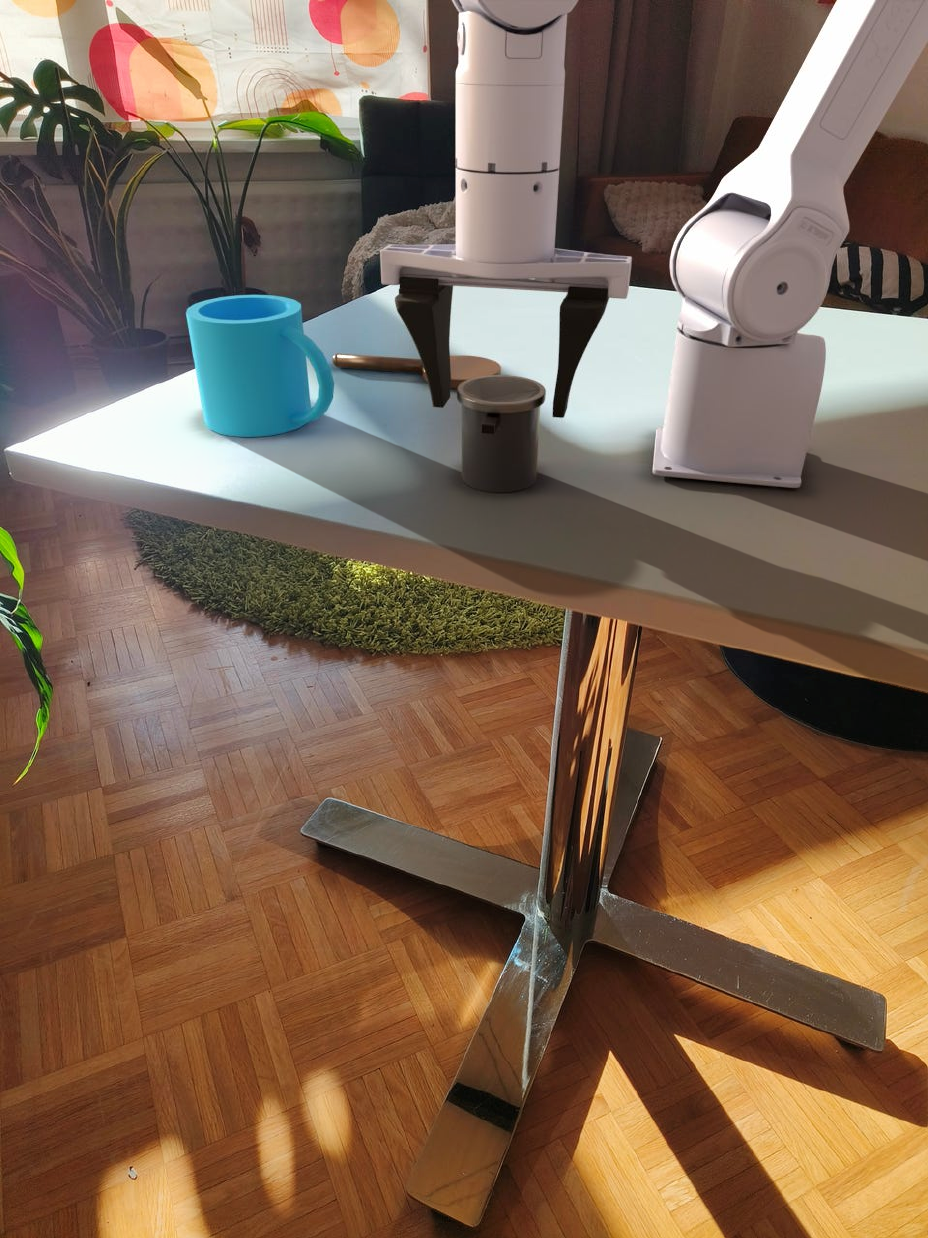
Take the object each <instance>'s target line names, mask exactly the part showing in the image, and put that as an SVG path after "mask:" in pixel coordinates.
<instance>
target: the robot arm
mask: <svg viewBox="0 0 928 1238" xmlns="http://www.w3.org/2000/svg"><path fill="white" fill-rule="evenodd" d="M451 2H452V3H453V5H454V7H455V9H456V10H457V12H458V29H457V37H456V38H457V39H456V40H457V47H458V64H457V67H456V70H455V243H453V244H452V243H450V244H449V243H448V244H446V243H445V244H388V245H387V246H385V247H383V248H382V249H380V251H379V256H380V257H379V258H380V259H379V260H380V278H381V279H380V283H381V285H384V286H385V285H386V286H387V285H388V286H399V288H398V294H396V296H395V297H394V304H395V309H396V312H397V313H398V315H399V317H400V318H401V320H402V322H403V323H404V326H405V327H406V329H407V331H408V333H409V335H410V337H411V339H412V341H413V343H414V345H415V348H416V350H417V353H418V356H419V359H421V361H422V364H423V367H424V370H425V373H426V377H427V380H428V382H427V383H428V388H429V393H430V397H431V398H430V399H431V402H432V403H431V404H432V407H433V408H438V409H439V408H441V409H444V407H445V406H446V404H447V403H448V401H449V400H450V399H451V392H452V390H451V389H452V388H451V368H450V356H451V352H450V351H451V350H450V337H451V336H450V335H451V318H452V316H451V315H452V303H453V302H452V301H453V291H454V287H467V288H482V289H483V288H487V289H501V290H516V291H517V290H518V291H519V290H520V291H535V292H555V293H566V295H565V297H564V298H563V299H562V301H561V303H560V305H559V321H558V324H559V325H558V326H559V327H558V328H559V329H558V357H557V358H558V359H557V371H556V379H555V385H554V393H553V398H552V399H553V401H552V415H551V416H552V418H558V419H563V418H565V416H566V412H567V410H568V405H569V400H570V399H569V398H570V393H571V388H572V386H573V381H574V377H575V375H576V372H577V369H578V367H579V364H580V362H581V360H582V357H583V355H584V353H585V351H586V348H587V347H588V345H589V342H590V341H591V339H592V337H593V335H594V333H595V331H596V329H597V328H598V327H599V324H600V322H601V320H602V319H603V317H604V315H605V312H606V310H607V307H608V303H609V300H610V299H620V300H621V299H622V300H625V299H627V298H628V294H629V291H630V281H631V271H632V264H633V263H632V261H633V257H632V256H631V255H630V256H626V255H615V254H614V255H613V254H604V253H595V252H586V251H579V250H573V249H572V250H570V249H563V248H555V246H556V230H557V216H558V215H557V213H558V200H559V199H558V198H559V197H558V196H559V182H560V181H559V180H560V165H561V149H562V147H561V146H562V132H563V116H564V101H565V100H564V99H565V98H564V97H565V81H566V80H565V79H566V69H565V58H566V57H565V55H566V41H567V40H566V39H567V38H566V37H567V25H568V23H567V22H568V14H569V13H571V12H573V10H574V8H575V7H576V5H577V4H578V2H579V0H451ZM927 43H928V0H836V1H835V3H834V4H833V7H832V9H831V11H830V12H829V14H828V16H827V18H826V19H825V22H824V24H823V26H822V27H821V30H820V31H819V33H818V35H817V37H816V39H815V41H814V43H813V44H812V46H811V48H810V50H809V52H808V54H807V55H806V57H805V60H804V62H802V63H803V64H802V66H801V67H800V69H799V71H798V73H797V75H796V77H795V78H794V80H793V83H792V84H791V86H790V87H789V90H788V91H787V94H786V95H785V96H784V99H783V101H782V102H781V105H780V107H779V108H778V110H777V112H776V114H775V116H774V118H773V120H772V121H771V124H770V126H769V127H768V130H767V131H766V133H765V135H764V136H763V139H762V140H761V142H760V144H759V146H758V148H756V149H755V150H754V152H752V153H751V154H750V155H749V156H747V157H746V158H745V159H744V160H743V161H741V162H740V163H739V164H737V166H735V167H734V168H733V169H731V170H730V171H729V172H728V173H727V174H726V175H725V176H723V178H722V179H721V181H720V183H719V184H718V186H717V188H716V190H715V192H714V193H713V195H712V197H711V198H710V200H709V201H708V203H707V204H706V205H704V207H703V208H702V209H701V210H699V211H698V212H697V213H695V215H694V216H692V217H691V218H689V220H688V221H687V222H686V223H685V224H684V225H683V227H682V228H681V230H680V231H679V232H678V234H677V236H676V238H675V240H674V242H673V245H672V248H671V253H670V257H669V273H670V278H671V282H672V285H673V287H674V288H675V291H676V292H677V294H678V295H679V296H680V297H681V298H682V301H681V309H680V313H679V315H678V320H677V327H676V333H675V334H676V335H675V341H674V348H673V354H672V355H673V356H672V362H671V372H670V377H669V384H668V385H669V386H668V392H667V399H666V407H665V413H664V422H663V426H662V427H658V428H656V431H655V440H654V451H653V461H652V470H651V471H652V474H653V475H654V476H658V477H666V478H677V479H678V478H679V479H686V480H687V479H689V480H697V481H698V480H700V481H708V482H709V481H711V482H722V483H733V484H734V483H735V484H743V485H744V484H745V485H754V486H767V487H775V488H786V489H787V488H788V489H798V488H800V487H801V485H802V477H801V476H802V473H803V469H804V464H805V460H806V456H807V452H808V447H809V443H810V439H811V435H812V430H813V427H814V423H815V418H816V414H817V410H818V407H819V401H820V397H821V392H822V387H823V381H824V375H825V368H826V360H827V359H826V357H827V347H826V340H825V338H824V337H823V336H820V335H816V334H805V333H799V331H800V330H801V329H803V328H804V327H805V326H806V325H807V324H808V323H809V322H810V321H811V320H812V319H813V318H814V316H815V315H816V314H817V313H818V311H819V310H820V308H821V307H822V304H823V303H824V300H825V298H826V296H827V292H828V289H829V286H830V281H831V275H832V271H833V270H832V269H833V265H834V261H835V259H836V256H837V254H838V252H839V250H840V248H841V247H842V244H843V243H844V241H845V240H846V238H847V236H848V234H849V232H850V220H849V215H848V210H847V205H846V200H845V195H844V186H845V184H846V182H847V181H848V179H849V177H850V176H851V174H852V172H853V170H854V169H855V167H856V165H857V163H858V162H859V160H860V158H862V157H861V156H862V155H863V153H864V151H865V150H866V148H867V146H868V145H869V143H870V141H871V139H872V138H873V136H874V134H875V133H876V131H877V129H878V128H879V126H880V125H881V123H882V121H883V119H884V117H885V115H886V114H887V112H888V110H889V109H890V107H891V106H892V104H893V102H894V100H895V99H896V97H897V95H898V93H899V92H900V90H901V88H902V86H903V85H904V83H905V81H906V80H907V78H908V76H909V74H910V72H911V71H912V69H913V67H914V66H915V64H916V62H917V61H918V59H919V57H920V56H921V54H922V52H923V51H924V49H925V47H926V45H927Z"/></svg>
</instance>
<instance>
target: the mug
mask: <svg viewBox="0 0 928 1238" xmlns="http://www.w3.org/2000/svg"><path fill="white" fill-rule="evenodd" d="M185 315H186V322H187V326H188V327H187V328H188V333H189V339H190V344H191V350H192V356H193V362H194V368H195V374H196V381H197V384H198V385H197V386H198V392H199V397H200V403H201V410H202V416H203V421H204V424H205V426H206V427H207V428H208V430H210V431H213V432H215V433H217V434H220V435H224V436H229V437H239V438H257V437H259V438H260V437H271V436H276V435H282V434H285V433H288V432H292V431H295V430H296V429H299V428H301V427H302V426H305V425H306V424H308V423H309V422H313V421H316V420H319V418H320V417H322V416H323V415H324V414H325V413H327V412H328V410H329V409H330V406H331V404H332V402H333V399H334V393H335V381H334V376H333V372H332V368H331V366H330V363H329V362H328V360H327V358H326V356H325V354H324V352H323V351H322V350H321V349H320V348H319V346H318V345H317V344H316V342H315V341H314V340H313V339H312V338H310V337H309V336H307V335H306V334H305V332H304V323H303V322H304V321H303V313H302V304H301V302H299V301H298V300H296V299H292V298H289V297H286V296H278V295H273V294H272V295H270V294H237V295H228V296H220V297H217V298H211V299H206V300H202V301H200V302H196V303H194V304H192V305H191V306H189V307H188V308H186V312H185ZM307 358H308V360H309V362H310V365H311V366H312V368H313V370H314V373H315V375H316V380H317V384H318V393H317V394H318V396H317V398H316V401H315V403H314V405H313V406H312V404H311V394H310V384H309V374H308V364H307Z"/></svg>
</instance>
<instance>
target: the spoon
mask: <svg viewBox="0 0 928 1238" xmlns="http://www.w3.org/2000/svg"><path fill="white" fill-rule="evenodd" d="M332 364H333V365H334V366H335V367H336V368H340V369H341V368H342V369H355V370H369V371H381V372H397V373H409V374H422V378H423V380H424V381H425V382H426V383H428V380H427V377H426V373H425V370H424V367H423V364H422V361H421V358H409V357H395V356H382V355H367V354H353V353H341V352H340V353H336V354H334V355H333V356H332ZM450 368H451V389H454V390H457V388H458V386H459V385H460V384H461V383H462V382H464V381H466V380H469V379H472V378H476V377H481V376H490V375H502V367H501V365H500V364H499V363H498V362H497V361H496V360H493V359H490V358H487V357H483V356H476V355H466V354H465V355H463V354H462V355H450Z"/></svg>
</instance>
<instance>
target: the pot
mask: <svg viewBox="0 0 928 1238" xmlns="http://www.w3.org/2000/svg"><path fill="white" fill-rule="evenodd" d="M546 395H547V390H546V387H545V386H544V385H543V384H542V383H541V382H538V381H536V380H534V379H531V378H527V377H524V376H517V375H506V374H501V375H490V376H481V377H476V378H472V379H469V380H466V381H464V382H462V383H461V384H460V385H459V386H458V388H457V389H456V399H457V402H458V403H460V404H461V479H462V481H463V482H464V483H465V484H466V485H467V486H469V487H471V488H473V489H475V490H477V491H478V490H479V491H481V492H482V491H483V492H487V493H488V492H489V493H513V492H519V491H522V490H525V489H527V488H529V487H531V486H533V485H534V484H535V482H536V481H537V474H538V457H539V456H538V455H539V436H540V421H541V420H540V418H541V406H542V405H543V404H544V403H545V401H546V398H547V396H546Z"/></svg>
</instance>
